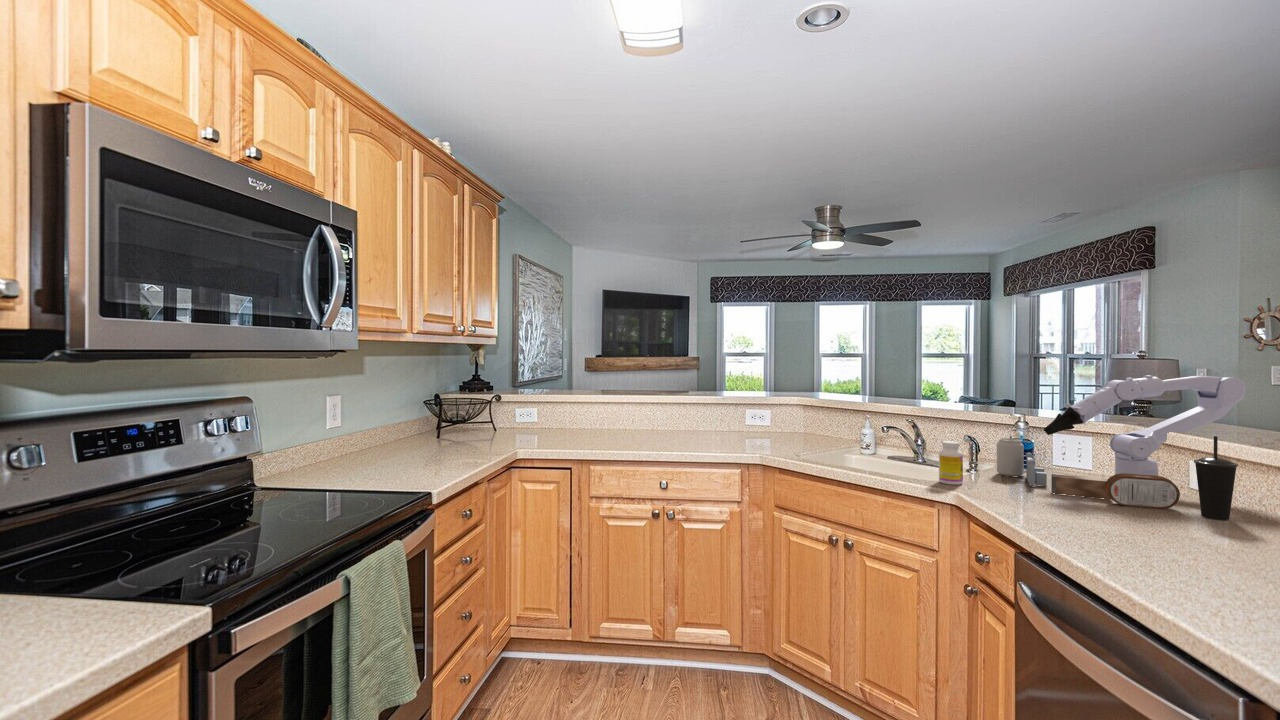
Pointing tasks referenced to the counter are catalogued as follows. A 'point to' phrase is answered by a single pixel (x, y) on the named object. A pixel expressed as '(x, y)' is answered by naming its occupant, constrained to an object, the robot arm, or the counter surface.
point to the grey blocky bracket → (1035, 472)
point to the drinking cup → (1215, 485)
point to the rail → (1079, 486)
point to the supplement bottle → (950, 463)
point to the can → (1010, 457)
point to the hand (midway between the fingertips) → (1049, 430)
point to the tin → (1142, 491)
